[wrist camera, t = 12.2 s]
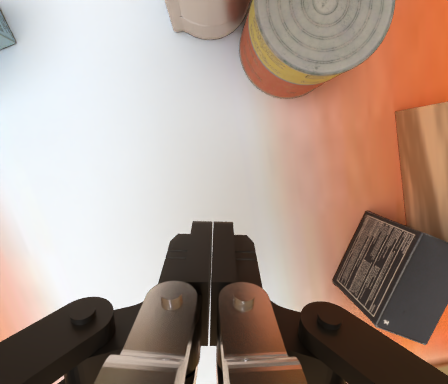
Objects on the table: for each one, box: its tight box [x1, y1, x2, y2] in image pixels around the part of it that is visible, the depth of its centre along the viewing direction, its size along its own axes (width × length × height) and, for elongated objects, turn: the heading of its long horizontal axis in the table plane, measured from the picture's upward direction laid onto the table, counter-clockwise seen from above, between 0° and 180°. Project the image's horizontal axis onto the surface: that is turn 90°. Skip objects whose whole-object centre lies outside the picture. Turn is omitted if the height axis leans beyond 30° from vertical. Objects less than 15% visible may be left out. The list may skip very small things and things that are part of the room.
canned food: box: [239, 0, 395, 99], centre depth 30 cm, size 11×11×12 cm
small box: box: [333, 211, 448, 345], centre depth 35 cm, size 11×6×10 cm, turn 158°
